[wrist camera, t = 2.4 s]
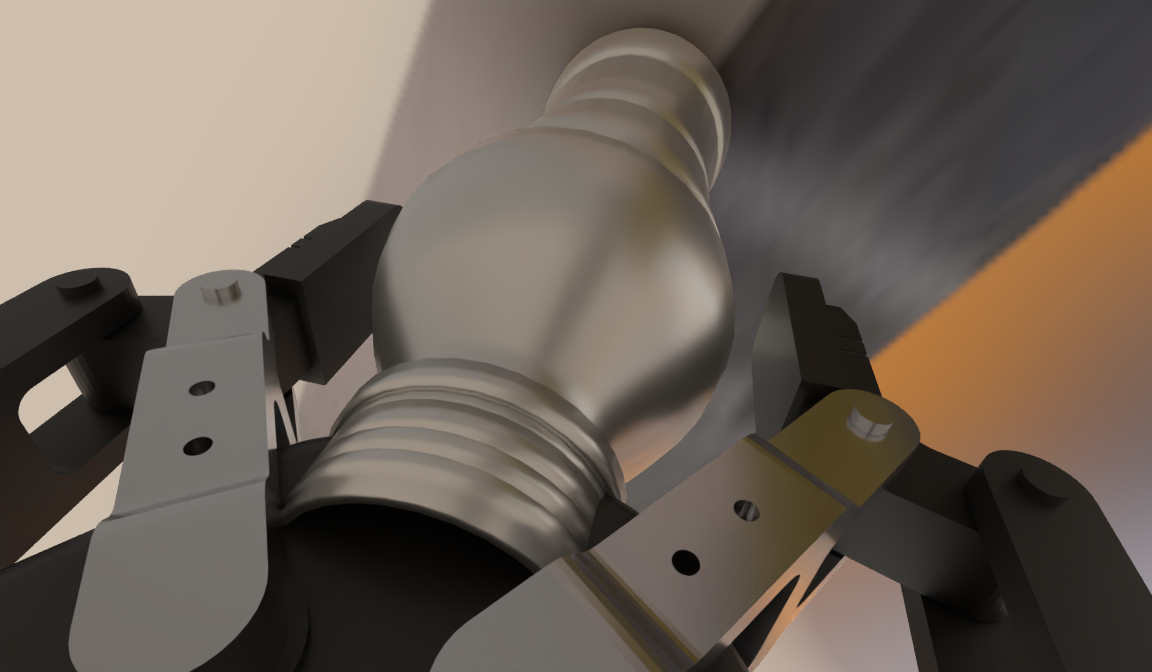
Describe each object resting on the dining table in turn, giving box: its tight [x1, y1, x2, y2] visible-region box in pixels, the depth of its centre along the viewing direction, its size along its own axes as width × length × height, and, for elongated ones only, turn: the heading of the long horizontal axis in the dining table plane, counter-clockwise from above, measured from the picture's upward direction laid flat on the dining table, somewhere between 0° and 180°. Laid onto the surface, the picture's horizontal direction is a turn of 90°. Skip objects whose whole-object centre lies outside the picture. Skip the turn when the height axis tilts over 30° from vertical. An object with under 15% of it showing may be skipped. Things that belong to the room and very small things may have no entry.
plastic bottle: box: [280, 28, 735, 574], centre depth 14 cm, size 6×7×20 cm
